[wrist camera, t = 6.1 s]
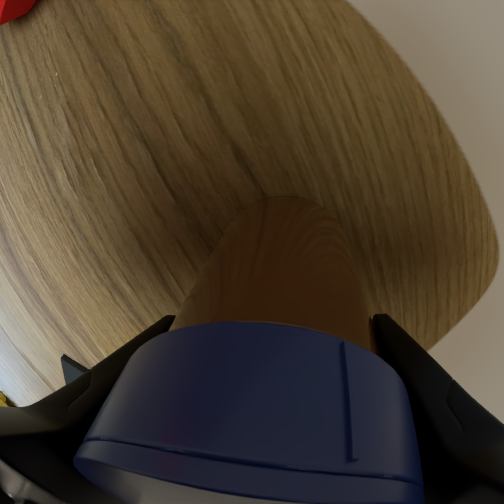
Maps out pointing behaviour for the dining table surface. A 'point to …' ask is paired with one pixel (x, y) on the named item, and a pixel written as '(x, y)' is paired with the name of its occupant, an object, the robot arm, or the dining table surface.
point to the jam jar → (283, 274)
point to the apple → (14, 9)
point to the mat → (71, 369)
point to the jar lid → (254, 422)
